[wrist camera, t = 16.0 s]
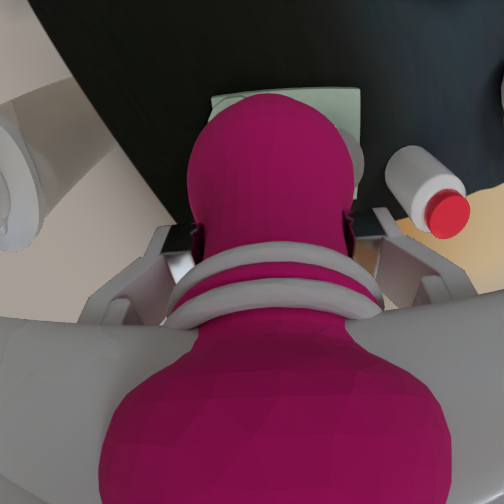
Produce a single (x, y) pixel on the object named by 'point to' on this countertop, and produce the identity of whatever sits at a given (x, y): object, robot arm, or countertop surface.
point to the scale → (321, 98)
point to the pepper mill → (275, 342)
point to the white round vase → (502, 92)
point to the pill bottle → (427, 192)
